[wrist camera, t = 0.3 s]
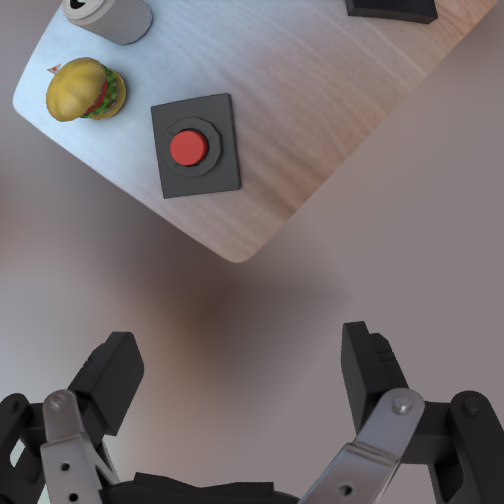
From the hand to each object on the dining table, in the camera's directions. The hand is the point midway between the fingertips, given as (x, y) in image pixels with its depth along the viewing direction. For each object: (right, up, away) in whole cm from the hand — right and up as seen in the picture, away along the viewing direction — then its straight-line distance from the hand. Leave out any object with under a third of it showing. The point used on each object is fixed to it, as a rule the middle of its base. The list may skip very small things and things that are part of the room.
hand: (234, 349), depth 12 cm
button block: (-6, +16, +25) cm, 30 cm away
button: (-6, +15, +21) cm, 27 cm away
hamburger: (-18, +24, +23) cm, 37 cm away
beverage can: (-15, +32, +19) cm, 40 cm away
